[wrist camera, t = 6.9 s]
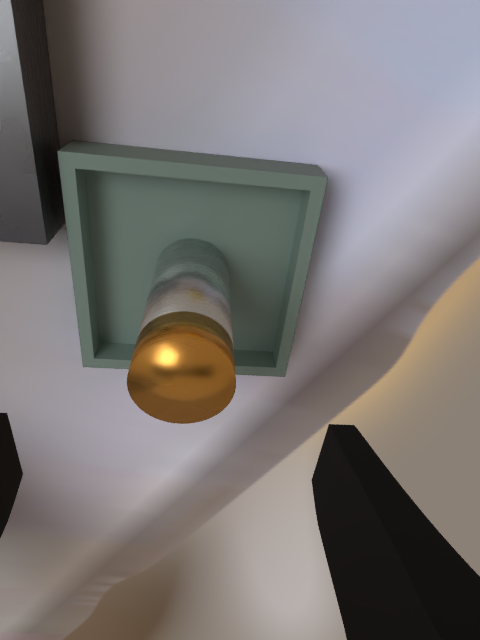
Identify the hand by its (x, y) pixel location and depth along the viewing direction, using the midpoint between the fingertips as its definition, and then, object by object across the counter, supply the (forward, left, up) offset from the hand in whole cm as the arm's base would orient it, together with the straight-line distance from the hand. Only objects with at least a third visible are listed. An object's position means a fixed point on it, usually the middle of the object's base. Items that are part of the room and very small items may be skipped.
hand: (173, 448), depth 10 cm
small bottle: (0, 0, -9) cm, 9 cm away
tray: (0, 0, -10) cm, 10 cm away
